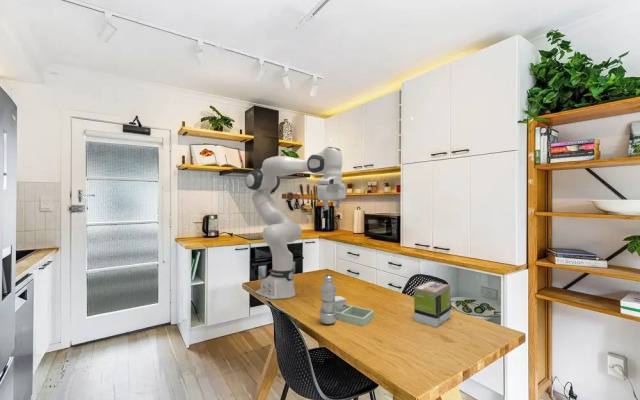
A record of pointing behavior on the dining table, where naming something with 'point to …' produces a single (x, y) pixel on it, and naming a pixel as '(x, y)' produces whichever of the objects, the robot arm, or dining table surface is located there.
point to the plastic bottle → (328, 300)
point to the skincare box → (340, 304)
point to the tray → (355, 315)
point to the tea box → (432, 303)
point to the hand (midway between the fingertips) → (332, 209)
